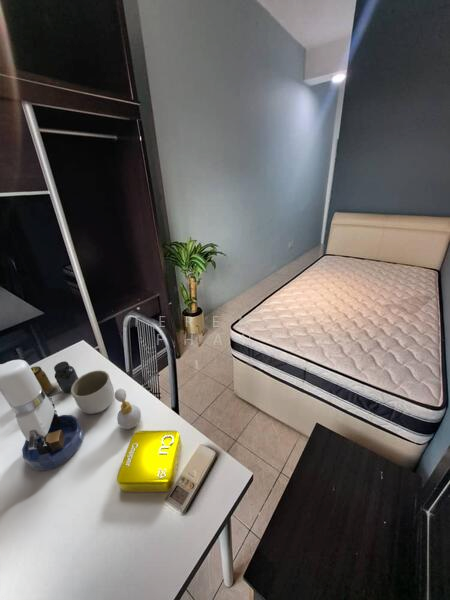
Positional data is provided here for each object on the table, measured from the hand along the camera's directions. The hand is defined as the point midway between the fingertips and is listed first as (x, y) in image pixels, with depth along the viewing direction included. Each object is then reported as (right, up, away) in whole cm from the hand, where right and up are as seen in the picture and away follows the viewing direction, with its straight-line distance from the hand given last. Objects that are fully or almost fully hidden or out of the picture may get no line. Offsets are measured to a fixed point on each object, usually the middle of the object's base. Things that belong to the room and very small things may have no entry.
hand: (51, 437), depth 77 cm
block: (0, -3, +2) cm, 4 cm away
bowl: (0, -4, +2) cm, 5 cm away
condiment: (-17, +6, +23) cm, 29 cm away
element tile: (+33, -6, -4) cm, 34 cm away
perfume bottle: (+21, +1, +9) cm, 23 cm away
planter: (+7, +4, +16) cm, 18 cm away
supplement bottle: (-9, +7, +24) cm, 26 cm away
